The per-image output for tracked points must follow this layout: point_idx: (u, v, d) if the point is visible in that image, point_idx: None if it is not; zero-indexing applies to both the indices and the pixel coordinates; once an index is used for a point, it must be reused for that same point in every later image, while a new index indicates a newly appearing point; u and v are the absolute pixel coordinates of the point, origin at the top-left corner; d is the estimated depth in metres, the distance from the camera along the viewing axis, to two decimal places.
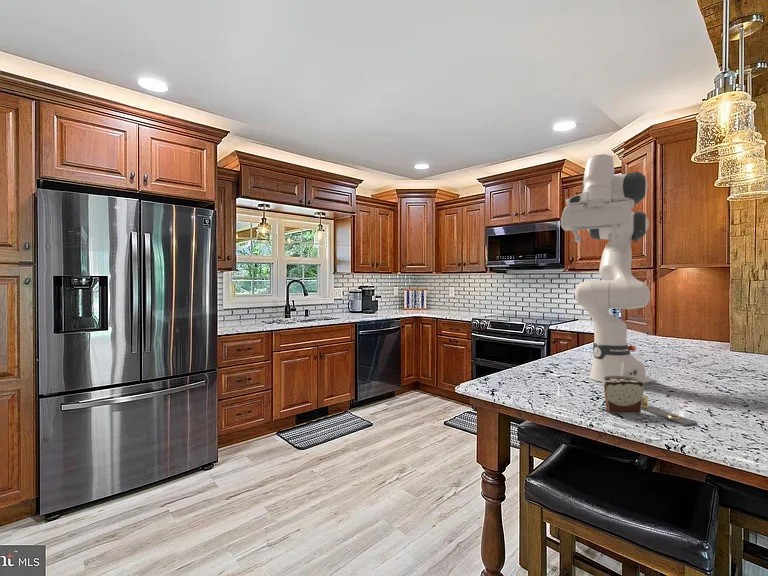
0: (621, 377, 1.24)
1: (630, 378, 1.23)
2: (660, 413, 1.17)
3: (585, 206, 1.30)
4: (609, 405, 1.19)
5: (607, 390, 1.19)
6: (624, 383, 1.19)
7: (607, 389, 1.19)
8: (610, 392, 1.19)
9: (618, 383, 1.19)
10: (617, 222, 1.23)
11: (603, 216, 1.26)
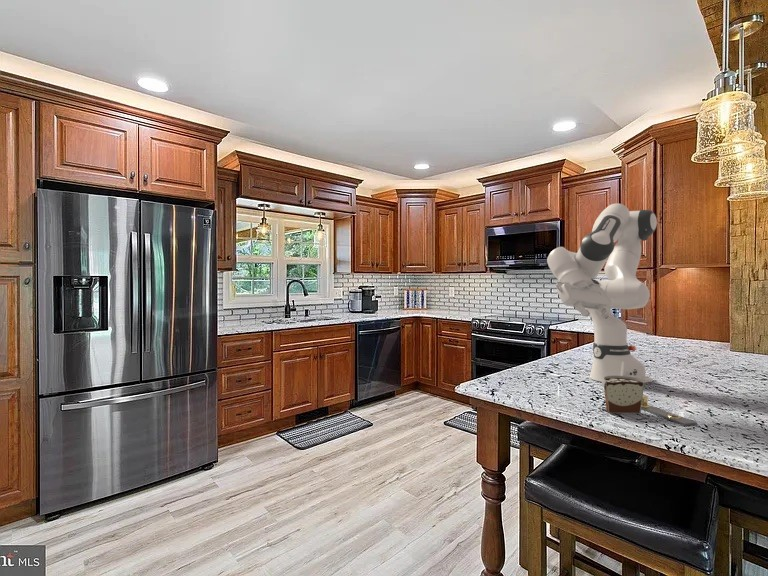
0: (621, 377, 1.24)
1: (630, 378, 1.23)
2: (660, 413, 1.17)
3: None
4: (609, 405, 1.19)
5: (607, 390, 1.19)
6: (624, 383, 1.19)
7: (607, 389, 1.19)
8: (610, 392, 1.19)
9: (618, 383, 1.19)
10: (572, 306, 1.32)
11: None
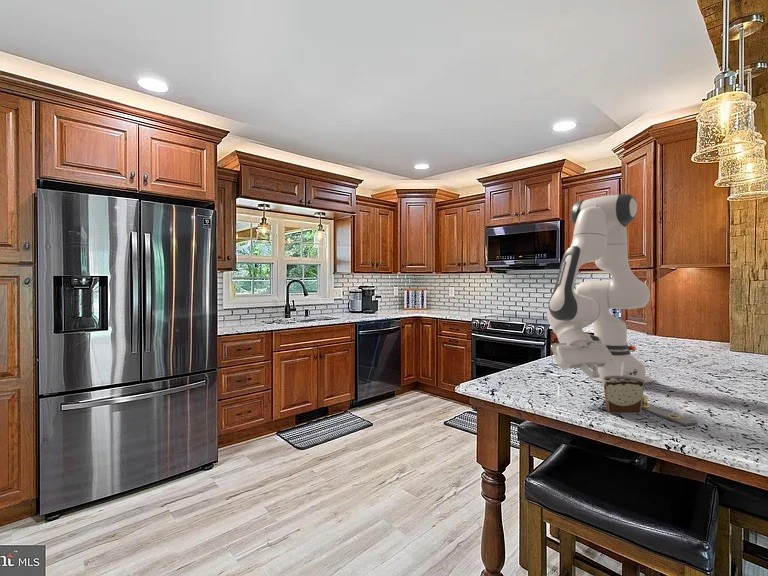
0: (621, 377, 1.24)
1: (630, 378, 1.23)
2: (660, 413, 1.17)
3: None
4: (609, 405, 1.19)
5: (607, 390, 1.19)
6: (624, 383, 1.19)
7: (607, 389, 1.19)
8: (610, 392, 1.19)
9: (618, 383, 1.19)
10: None
11: None
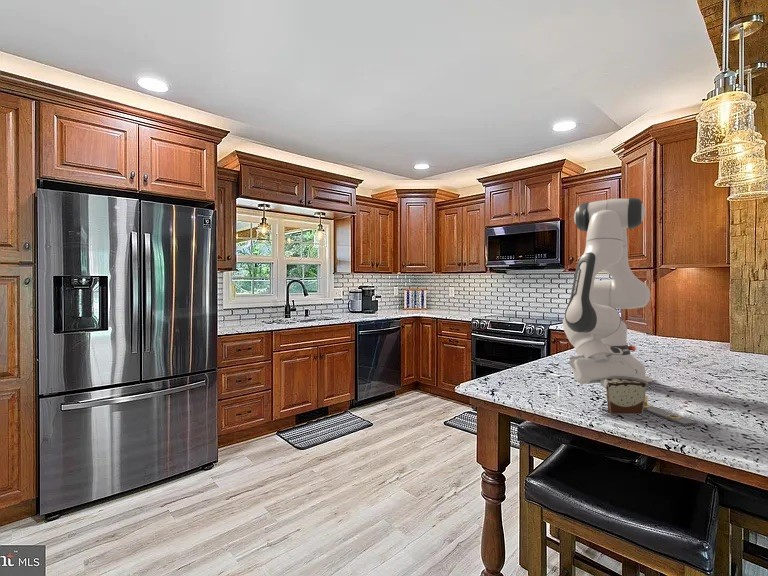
0: (623, 377, 1.23)
1: (632, 379, 1.22)
2: (660, 413, 1.17)
3: None
4: (611, 406, 1.18)
5: (609, 391, 1.18)
6: (626, 384, 1.18)
7: (609, 390, 1.18)
8: (612, 393, 1.18)
9: (620, 384, 1.18)
10: None
11: None
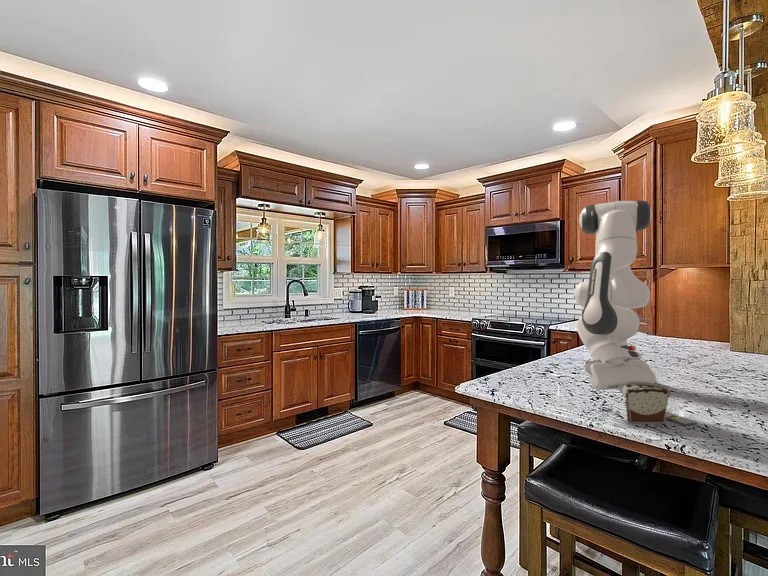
0: (643, 383, 1.16)
1: (653, 385, 1.15)
2: None
3: None
4: (631, 414, 1.12)
5: (629, 398, 1.11)
6: (647, 391, 1.11)
7: (629, 397, 1.11)
8: (632, 400, 1.11)
9: (641, 391, 1.11)
10: None
11: None
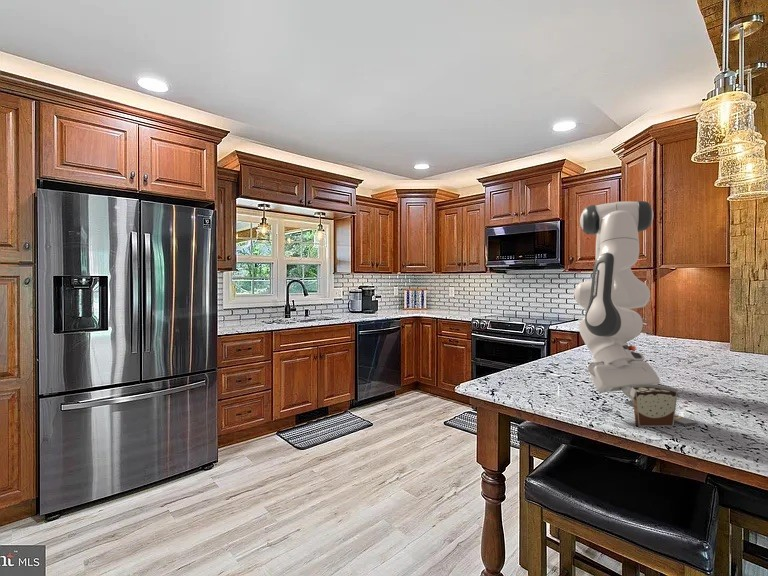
0: (650, 386, 1.14)
1: (660, 387, 1.13)
2: None
3: None
4: (639, 417, 1.09)
5: (637, 401, 1.09)
6: (655, 393, 1.09)
7: (637, 400, 1.09)
8: (640, 403, 1.09)
9: (649, 393, 1.09)
10: None
11: None
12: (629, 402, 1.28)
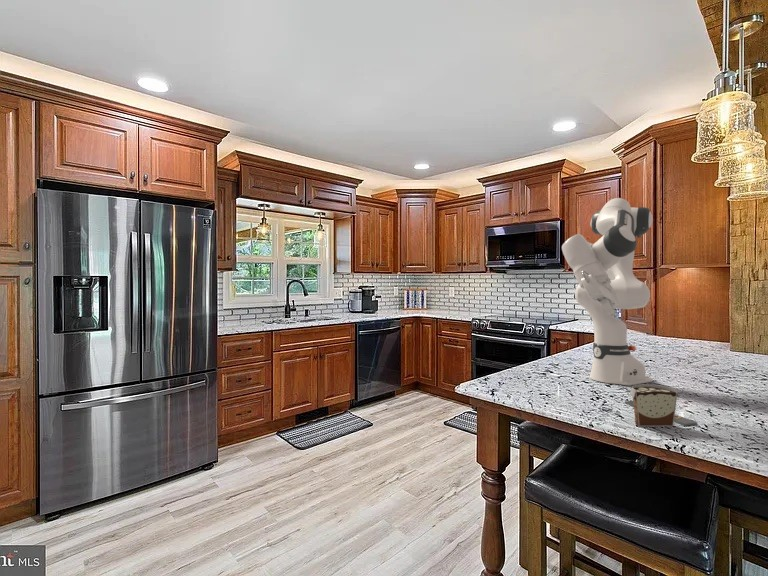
0: (650, 386, 1.14)
1: (660, 387, 1.13)
2: None
3: None
4: (639, 417, 1.09)
5: (637, 401, 1.09)
6: (655, 393, 1.09)
7: (637, 400, 1.09)
8: (640, 403, 1.09)
9: (649, 393, 1.09)
10: (593, 299, 1.24)
11: None
12: (629, 402, 1.28)
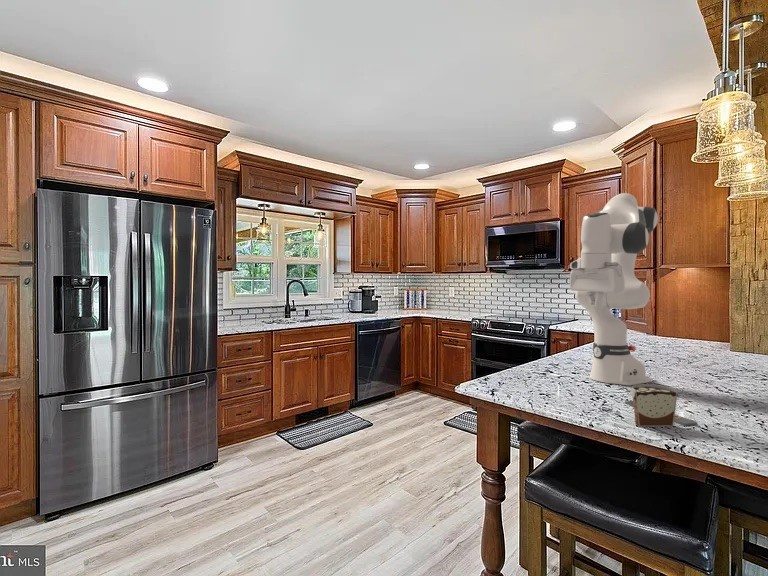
0: (650, 386, 1.14)
1: (660, 387, 1.13)
2: None
3: (584, 271, 1.32)
4: (639, 417, 1.09)
5: (637, 401, 1.09)
6: (655, 393, 1.09)
7: (637, 400, 1.09)
8: (640, 403, 1.09)
9: (649, 393, 1.09)
10: (606, 291, 1.23)
11: (596, 284, 1.27)
12: (629, 402, 1.28)
